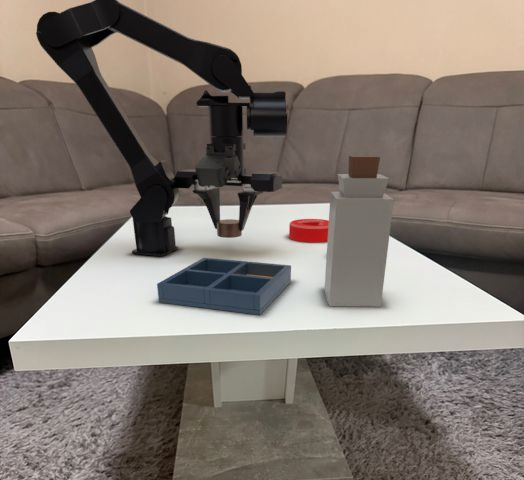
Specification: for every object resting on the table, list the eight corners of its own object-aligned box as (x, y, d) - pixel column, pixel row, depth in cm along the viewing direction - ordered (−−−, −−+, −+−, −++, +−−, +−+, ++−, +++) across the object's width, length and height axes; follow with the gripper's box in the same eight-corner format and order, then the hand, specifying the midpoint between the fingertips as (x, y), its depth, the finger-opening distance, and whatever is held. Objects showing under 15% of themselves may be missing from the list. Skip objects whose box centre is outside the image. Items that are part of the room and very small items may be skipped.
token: (213, 236, 84) (212, 223, 83) (223, 231, 88) (222, 218, 87) (236, 238, 83) (236, 224, 81) (245, 233, 86) (245, 220, 85)
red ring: (284, 233, 101) (284, 219, 100) (326, 232, 103) (327, 217, 101) (295, 243, 92) (296, 227, 91) (340, 241, 94) (341, 225, 93)
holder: (158, 302, 61) (156, 283, 60) (204, 273, 73) (203, 257, 72) (260, 315, 57) (260, 295, 56) (290, 282, 69) (291, 265, 68)
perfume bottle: (324, 289, 66) (333, 154, 58) (371, 290, 66) (386, 154, 58) (329, 306, 60) (339, 157, 52) (380, 306, 60) (398, 158, 52)
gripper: (153, 137, 74) (162, 234, 81) (263, 138, 68) (262, 242, 75) (185, 136, 83) (191, 223, 90) (283, 137, 78) (282, 229, 85)
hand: (229, 229), depth 85 cm, fingers closed on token, 4 cm apart
